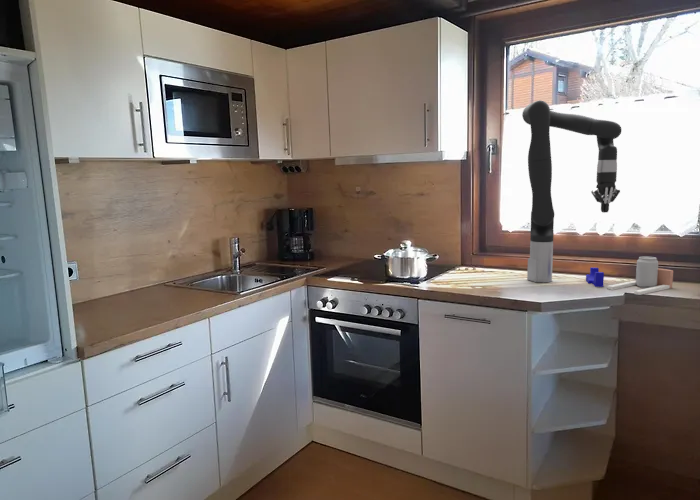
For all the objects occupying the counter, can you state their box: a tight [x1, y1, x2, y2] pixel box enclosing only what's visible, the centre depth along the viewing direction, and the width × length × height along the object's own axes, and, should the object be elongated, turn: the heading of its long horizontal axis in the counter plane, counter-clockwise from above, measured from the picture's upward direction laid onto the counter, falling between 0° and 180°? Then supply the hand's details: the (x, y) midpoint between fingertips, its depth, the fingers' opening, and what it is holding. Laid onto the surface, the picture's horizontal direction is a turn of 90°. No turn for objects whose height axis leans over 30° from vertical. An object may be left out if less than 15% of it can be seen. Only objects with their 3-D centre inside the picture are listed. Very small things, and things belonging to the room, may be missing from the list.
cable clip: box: [585, 267, 605, 288], centre depth 216 cm, size 12×4×6 cm, turn 165°
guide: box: [606, 267, 674, 296], centre depth 205 cm, size 22×13×7 cm, turn 120°
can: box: [635, 255, 659, 289], centre depth 208 cm, size 8×8×12 cm
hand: (604, 212), depth 221 cm, fingers closed
